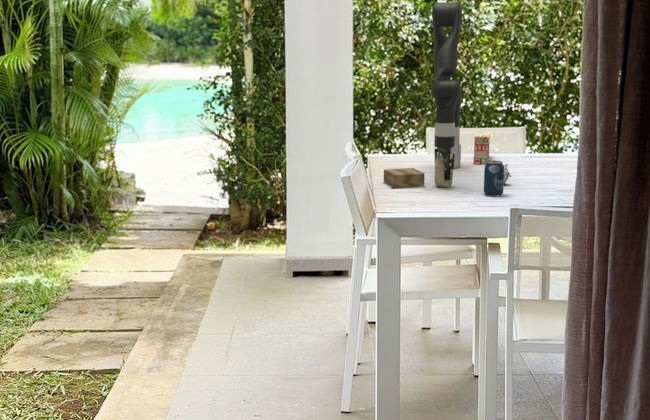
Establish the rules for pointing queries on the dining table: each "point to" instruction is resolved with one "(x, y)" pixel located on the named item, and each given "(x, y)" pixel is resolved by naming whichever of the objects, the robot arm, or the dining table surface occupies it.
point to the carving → (441, 173)
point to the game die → (506, 174)
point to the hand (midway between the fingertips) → (443, 178)
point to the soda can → (493, 178)
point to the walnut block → (403, 178)
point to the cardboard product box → (481, 148)
